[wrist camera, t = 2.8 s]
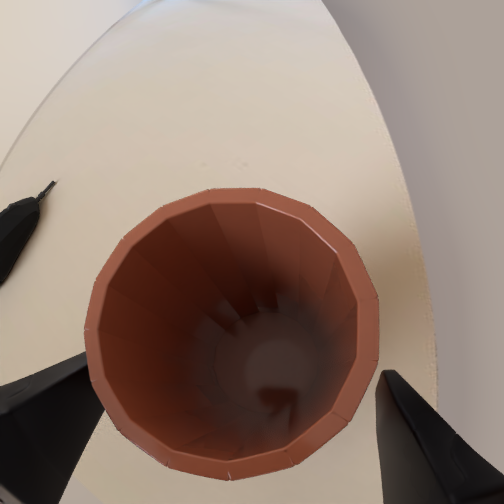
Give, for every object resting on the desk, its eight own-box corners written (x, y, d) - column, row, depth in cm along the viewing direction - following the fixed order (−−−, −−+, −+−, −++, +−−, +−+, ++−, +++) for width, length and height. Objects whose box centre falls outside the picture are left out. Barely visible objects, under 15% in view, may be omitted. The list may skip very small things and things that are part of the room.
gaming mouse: (66, 190, 26) (45, 167, 23) (-6, 303, 22) (-32, 290, 18) (45, 176, 28) (26, 155, 25) (-19, 275, 24) (-42, 261, 20)
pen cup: (290, 437, 15) (281, 527, 4) (189, 384, 17) (49, 364, 6) (343, 335, 17) (417, 248, 6) (243, 289, 19) (177, 160, 8)
